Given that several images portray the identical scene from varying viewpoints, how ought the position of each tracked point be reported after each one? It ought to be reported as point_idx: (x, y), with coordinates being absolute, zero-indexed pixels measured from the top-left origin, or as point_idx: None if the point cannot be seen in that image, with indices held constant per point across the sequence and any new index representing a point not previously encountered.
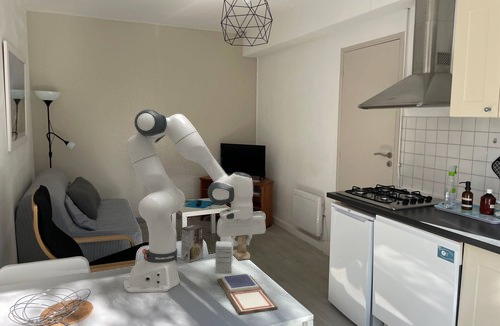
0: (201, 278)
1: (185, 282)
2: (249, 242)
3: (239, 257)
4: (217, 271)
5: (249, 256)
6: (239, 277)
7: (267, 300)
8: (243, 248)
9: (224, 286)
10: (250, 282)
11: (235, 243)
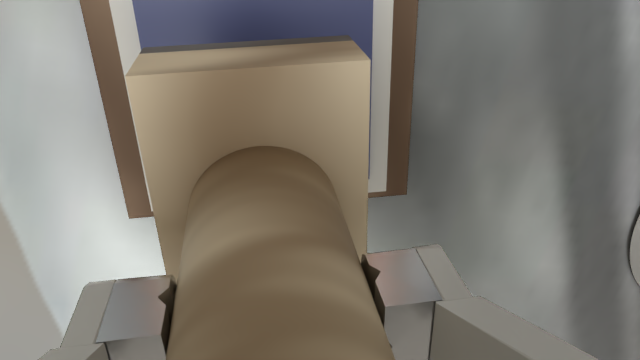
0: (491, 238)
1: (609, 196)
2: (71, 320)
3: (338, 50)
4: None
5: (144, 61)
6: None
7: None
8: (248, 190)
9: (398, 45)
10: (167, 7)
11: (446, 281)
